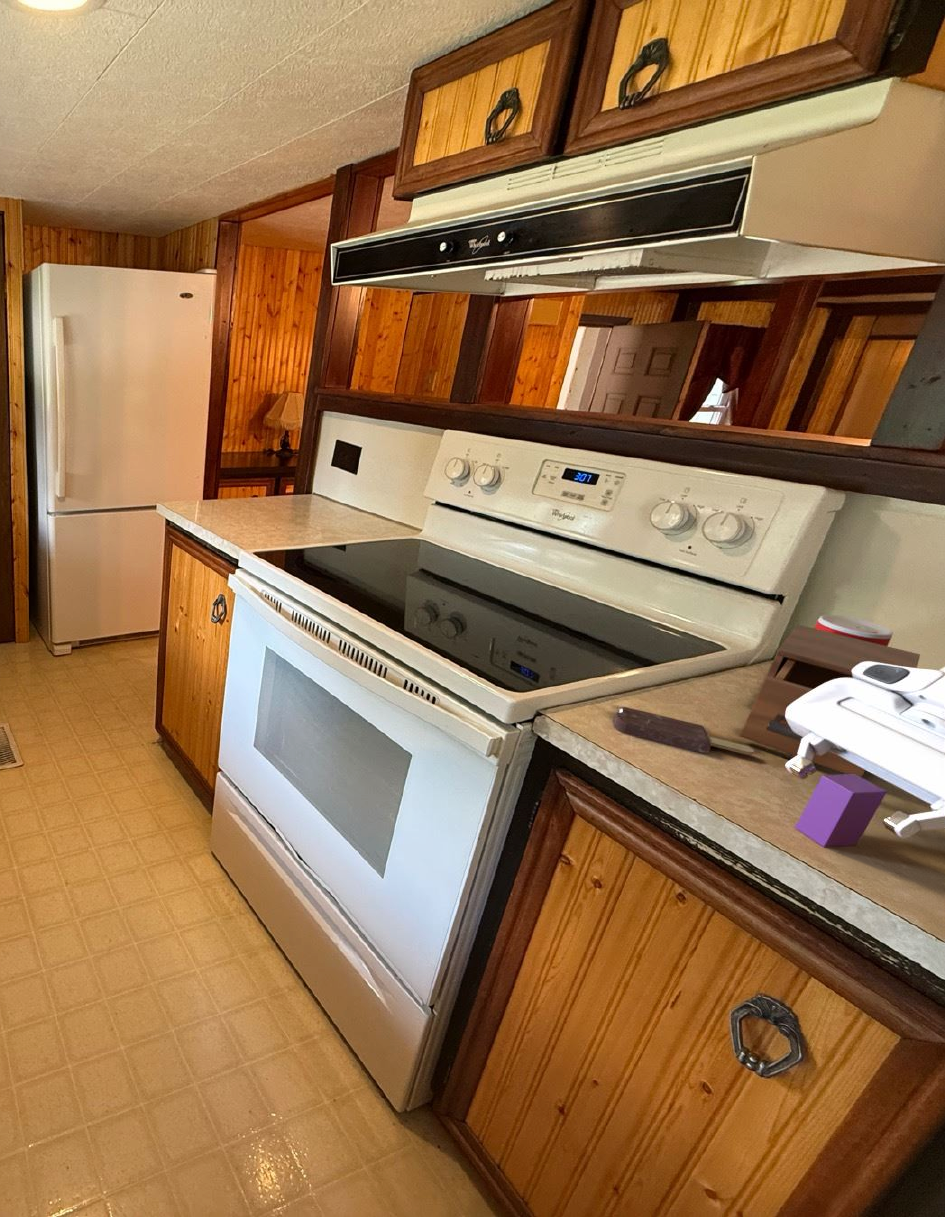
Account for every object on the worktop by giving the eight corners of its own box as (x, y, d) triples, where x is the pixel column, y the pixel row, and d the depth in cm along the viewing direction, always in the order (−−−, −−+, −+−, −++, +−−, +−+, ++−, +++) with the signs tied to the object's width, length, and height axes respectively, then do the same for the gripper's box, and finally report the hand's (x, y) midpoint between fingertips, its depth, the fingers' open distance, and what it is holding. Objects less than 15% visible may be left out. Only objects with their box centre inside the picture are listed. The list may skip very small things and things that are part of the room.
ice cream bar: (746, 747, 86) (610, 713, 93) (750, 737, 86) (614, 703, 93) (755, 767, 82) (613, 730, 89) (761, 756, 82) (616, 720, 89)
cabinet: (873, 756, 85) (912, 685, 81) (748, 715, 94) (778, 649, 90) (884, 719, 95) (920, 654, 91) (770, 685, 104) (797, 624, 100)
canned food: (858, 705, 98) (893, 639, 94) (787, 685, 104) (817, 621, 100) (861, 690, 103) (894, 626, 99) (793, 671, 109) (821, 610, 105)
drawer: (855, 793, 76) (891, 728, 73) (731, 748, 84) (757, 688, 81) (873, 739, 88) (904, 681, 84) (761, 704, 96) (786, 650, 93)
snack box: (826, 826, 72) (854, 773, 69) (856, 845, 69) (887, 791, 67) (794, 827, 72) (821, 774, 69) (824, 847, 69) (853, 792, 66)
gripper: (1125, 801, 58) (974, 891, 60) (862, 688, 76) (755, 760, 79) (1115, 760, 55) (958, 855, 58) (846, 654, 74) (737, 729, 77)
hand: (839, 799), depth 69 cm, fingers open, 8 cm apart
